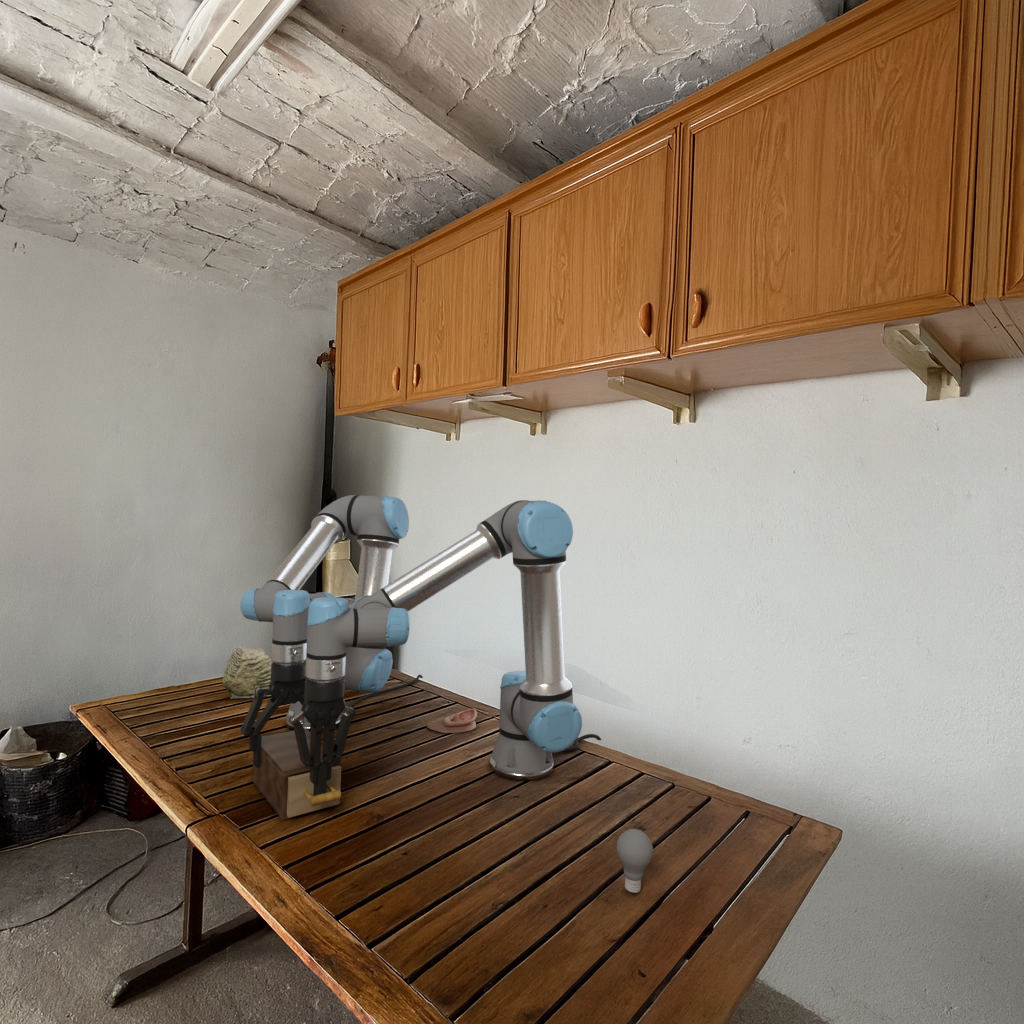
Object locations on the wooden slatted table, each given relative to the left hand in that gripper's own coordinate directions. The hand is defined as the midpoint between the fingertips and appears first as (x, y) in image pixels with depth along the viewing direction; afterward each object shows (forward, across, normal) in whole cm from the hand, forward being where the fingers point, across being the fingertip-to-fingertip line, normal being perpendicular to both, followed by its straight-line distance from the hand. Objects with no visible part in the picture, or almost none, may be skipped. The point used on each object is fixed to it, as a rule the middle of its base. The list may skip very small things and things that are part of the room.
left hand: (285, 759), depth 140 cm
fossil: (+5, +12, +65) cm, 66 cm away
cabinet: (+5, 0, -6) cm, 8 cm away
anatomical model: (+5, +50, +9) cm, 51 cm away
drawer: (+4, 0, -11) cm, 12 cm away
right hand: (0, 0, -20) cm, 20 cm away
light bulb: (+5, +34, -70) cm, 79 cm away
